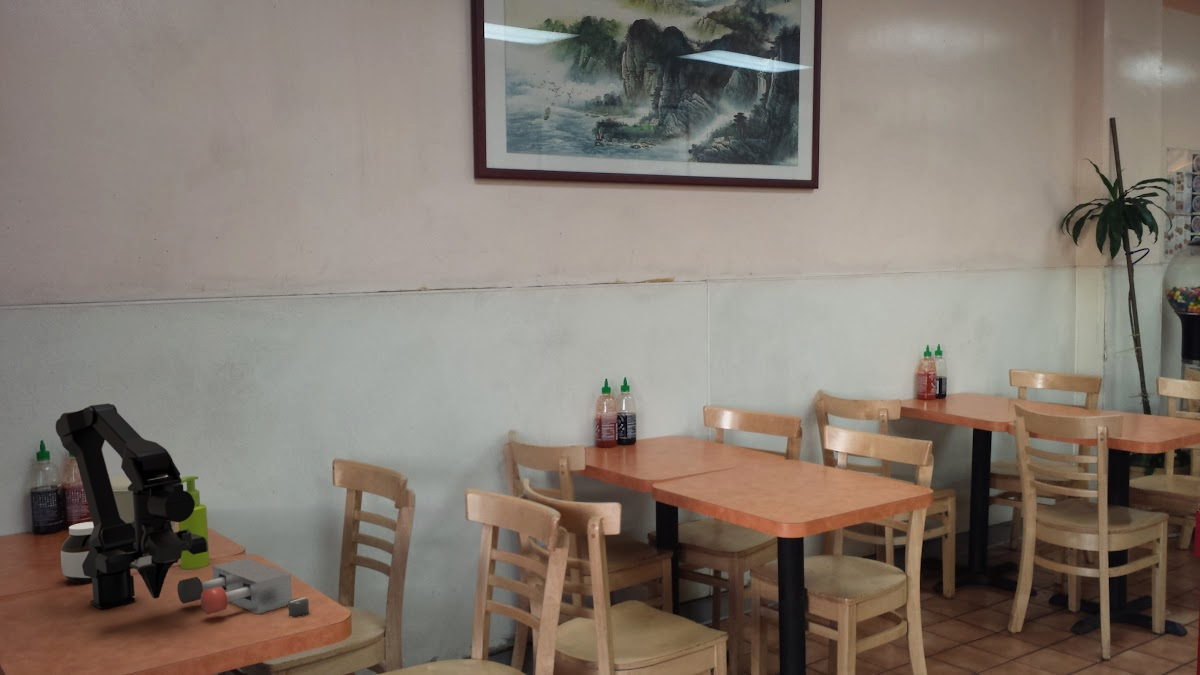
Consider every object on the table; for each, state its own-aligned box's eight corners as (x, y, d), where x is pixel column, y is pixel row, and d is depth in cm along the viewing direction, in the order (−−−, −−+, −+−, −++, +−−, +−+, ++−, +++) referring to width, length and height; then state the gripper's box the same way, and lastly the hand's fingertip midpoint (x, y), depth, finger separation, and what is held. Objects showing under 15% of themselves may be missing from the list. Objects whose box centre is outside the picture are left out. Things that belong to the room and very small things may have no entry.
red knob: (212, 616, 182) (210, 592, 182) (201, 611, 185) (200, 588, 185) (272, 600, 191) (271, 577, 190) (261, 595, 194) (260, 573, 193)
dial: (295, 618, 184) (294, 603, 183) (285, 614, 186) (284, 600, 186) (312, 613, 186) (311, 599, 186) (302, 609, 189) (302, 595, 188)
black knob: (188, 605, 189) (186, 582, 189) (178, 601, 192) (176, 578, 192) (247, 590, 198) (246, 568, 197) (237, 585, 201) (236, 564, 200)
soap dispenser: (171, 569, 219) (166, 479, 218) (195, 560, 226) (190, 473, 225) (192, 571, 217) (186, 480, 216) (215, 562, 223) (210, 474, 222)
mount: (258, 614, 187) (256, 582, 186) (214, 595, 199) (212, 566, 199) (292, 604, 192) (290, 573, 191) (247, 587, 204) (245, 558, 204)
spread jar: (77, 587, 208) (74, 532, 207) (47, 580, 214) (44, 526, 213) (130, 572, 218) (127, 519, 217) (100, 566, 224) (97, 514, 223)
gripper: (115, 532, 174) (121, 620, 174) (219, 512, 187) (223, 593, 188) (91, 523, 181) (97, 607, 182) (192, 504, 195) (197, 582, 196)
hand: (155, 597), depth 187 cm, fingers closed
